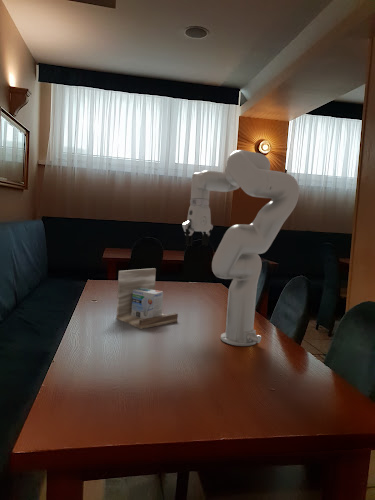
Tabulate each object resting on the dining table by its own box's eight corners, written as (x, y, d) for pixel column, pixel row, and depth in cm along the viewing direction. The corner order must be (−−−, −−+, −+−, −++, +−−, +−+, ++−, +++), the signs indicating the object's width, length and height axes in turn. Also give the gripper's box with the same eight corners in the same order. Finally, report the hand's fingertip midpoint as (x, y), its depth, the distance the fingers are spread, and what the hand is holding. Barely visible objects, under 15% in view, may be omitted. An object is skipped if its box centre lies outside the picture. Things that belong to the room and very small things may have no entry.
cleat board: (177, 321, 153) (180, 274, 151) (141, 328, 140) (144, 277, 139) (151, 312, 164) (154, 268, 162) (116, 318, 152) (118, 270, 150)
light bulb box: (130, 316, 152) (132, 289, 151) (140, 312, 158) (142, 287, 157) (152, 321, 147) (154, 293, 146) (162, 317, 153) (164, 291, 152)
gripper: (191, 202, 147) (188, 246, 149) (220, 205, 160) (217, 246, 161) (178, 201, 153) (175, 244, 154) (206, 204, 165) (204, 244, 167)
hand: (196, 245), depth 158 cm, fingers open, 9 cm apart
